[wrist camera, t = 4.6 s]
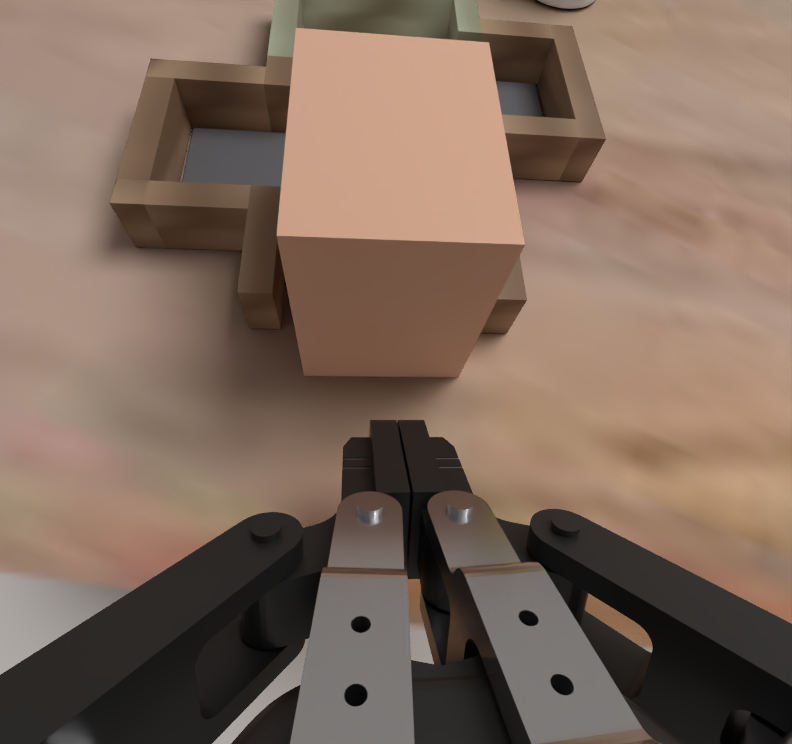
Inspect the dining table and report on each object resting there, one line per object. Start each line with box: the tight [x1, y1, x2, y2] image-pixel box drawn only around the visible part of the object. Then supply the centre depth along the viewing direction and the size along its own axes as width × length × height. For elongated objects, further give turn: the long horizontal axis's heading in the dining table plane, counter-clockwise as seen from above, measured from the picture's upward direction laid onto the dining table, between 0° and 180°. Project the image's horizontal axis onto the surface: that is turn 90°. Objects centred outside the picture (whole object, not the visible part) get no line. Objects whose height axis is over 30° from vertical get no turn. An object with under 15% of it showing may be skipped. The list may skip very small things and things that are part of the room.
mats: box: [183, 81, 543, 187], centre depth 24 cm, size 18×11×1 cm, turn 92°
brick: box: [277, 28, 525, 377], centre depth 17 cm, size 6×8×8 cm
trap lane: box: [110, 0, 606, 333], centre depth 23 cm, size 20×20×2 cm
